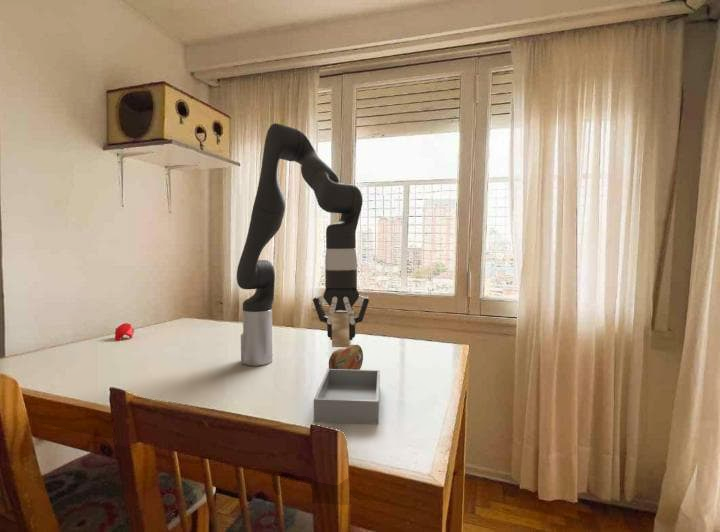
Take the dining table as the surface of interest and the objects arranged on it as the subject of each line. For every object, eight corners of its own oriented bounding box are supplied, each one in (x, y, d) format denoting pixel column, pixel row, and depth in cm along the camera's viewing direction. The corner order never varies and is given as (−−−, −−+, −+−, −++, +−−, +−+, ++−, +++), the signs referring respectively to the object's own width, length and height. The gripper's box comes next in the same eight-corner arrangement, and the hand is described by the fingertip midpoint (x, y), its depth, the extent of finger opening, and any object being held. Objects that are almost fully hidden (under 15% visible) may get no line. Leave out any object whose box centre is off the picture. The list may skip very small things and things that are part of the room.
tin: (335, 384, 104) (335, 354, 103) (326, 381, 106) (326, 352, 105) (363, 369, 117) (364, 342, 116) (355, 367, 118) (355, 340, 118)
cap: (123, 328, 157) (112, 323, 152) (136, 323, 156) (125, 318, 151) (121, 346, 153) (109, 341, 148) (134, 341, 152) (122, 337, 147)
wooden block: (332, 347, 88) (331, 313, 88) (334, 342, 92) (334, 310, 92) (348, 347, 88) (348, 313, 88) (350, 343, 92) (350, 310, 92)
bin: (313, 421, 82) (313, 399, 81) (327, 387, 101) (327, 368, 101) (378, 424, 81) (378, 401, 80) (379, 388, 101) (379, 370, 100)
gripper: (308, 268, 86) (309, 342, 87) (370, 268, 85) (370, 343, 86) (314, 267, 94) (315, 335, 95) (371, 267, 93) (371, 336, 93)
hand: (341, 338), depth 90 cm, fingers closed on wooden block, 4 cm apart
